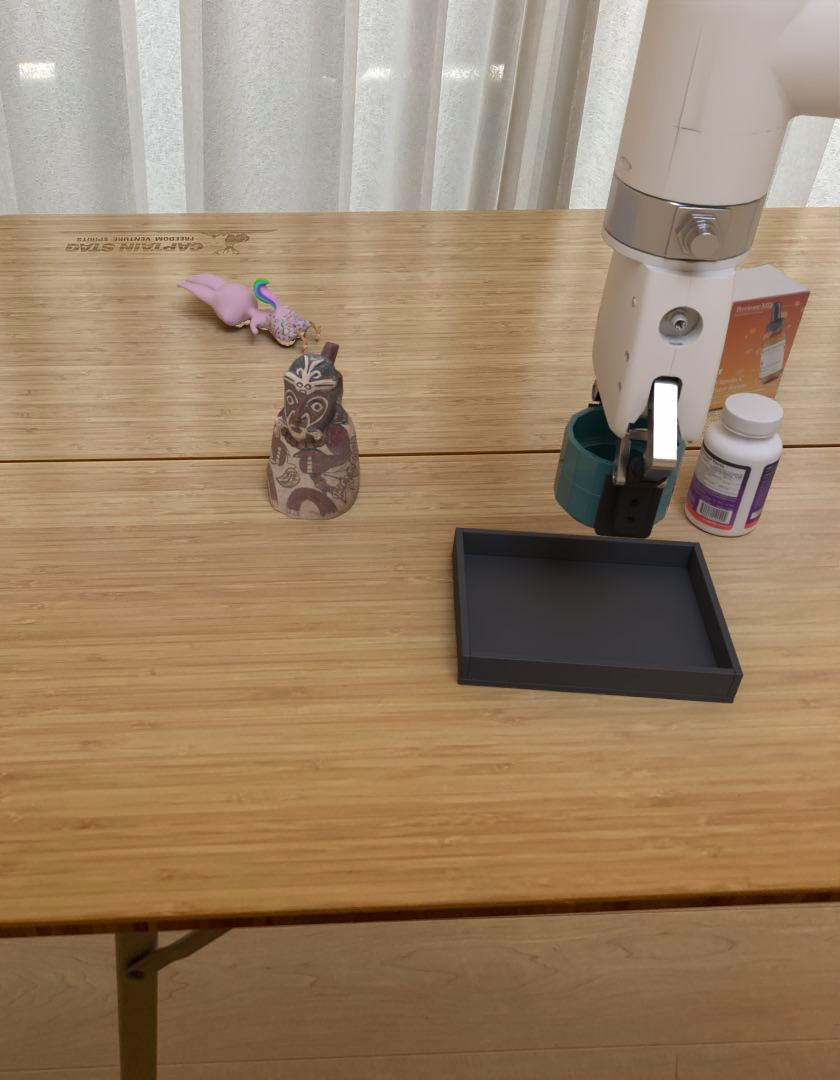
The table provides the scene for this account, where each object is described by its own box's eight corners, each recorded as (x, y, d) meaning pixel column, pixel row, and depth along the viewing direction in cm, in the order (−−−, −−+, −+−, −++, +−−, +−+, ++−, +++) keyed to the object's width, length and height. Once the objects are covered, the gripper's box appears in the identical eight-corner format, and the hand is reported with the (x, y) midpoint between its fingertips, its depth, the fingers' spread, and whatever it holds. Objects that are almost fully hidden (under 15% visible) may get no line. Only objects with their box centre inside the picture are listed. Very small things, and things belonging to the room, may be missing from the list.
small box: (699, 414, 96) (731, 302, 89) (662, 382, 100) (690, 273, 93) (776, 400, 98) (813, 289, 91) (737, 369, 102) (770, 261, 95)
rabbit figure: (326, 346, 106) (197, 285, 111) (337, 292, 102) (204, 230, 106) (292, 373, 102) (160, 309, 106) (303, 318, 98) (165, 253, 102)
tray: (691, 569, 79) (699, 542, 78) (733, 703, 69) (743, 675, 67) (451, 554, 80) (455, 526, 78) (458, 684, 70) (462, 655, 68)
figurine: (246, 496, 85) (245, 357, 77) (302, 455, 89) (306, 320, 82) (322, 532, 81) (328, 390, 74) (376, 488, 86) (387, 350, 79)
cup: (654, 475, 71) (673, 408, 68) (675, 542, 65) (695, 472, 62) (547, 469, 71) (560, 401, 68) (558, 534, 66) (573, 464, 63)
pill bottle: (735, 493, 86) (771, 384, 80) (770, 535, 82) (810, 424, 76) (670, 498, 86) (701, 389, 80) (702, 542, 82) (737, 430, 76)
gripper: (803, 294, 50) (703, 593, 61) (718, 159, 63) (649, 423, 74) (634, 284, 50) (565, 584, 61) (585, 152, 64) (536, 416, 75)
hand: (611, 494), depth 68 cm, fingers closed on cup, 6 cm apart
